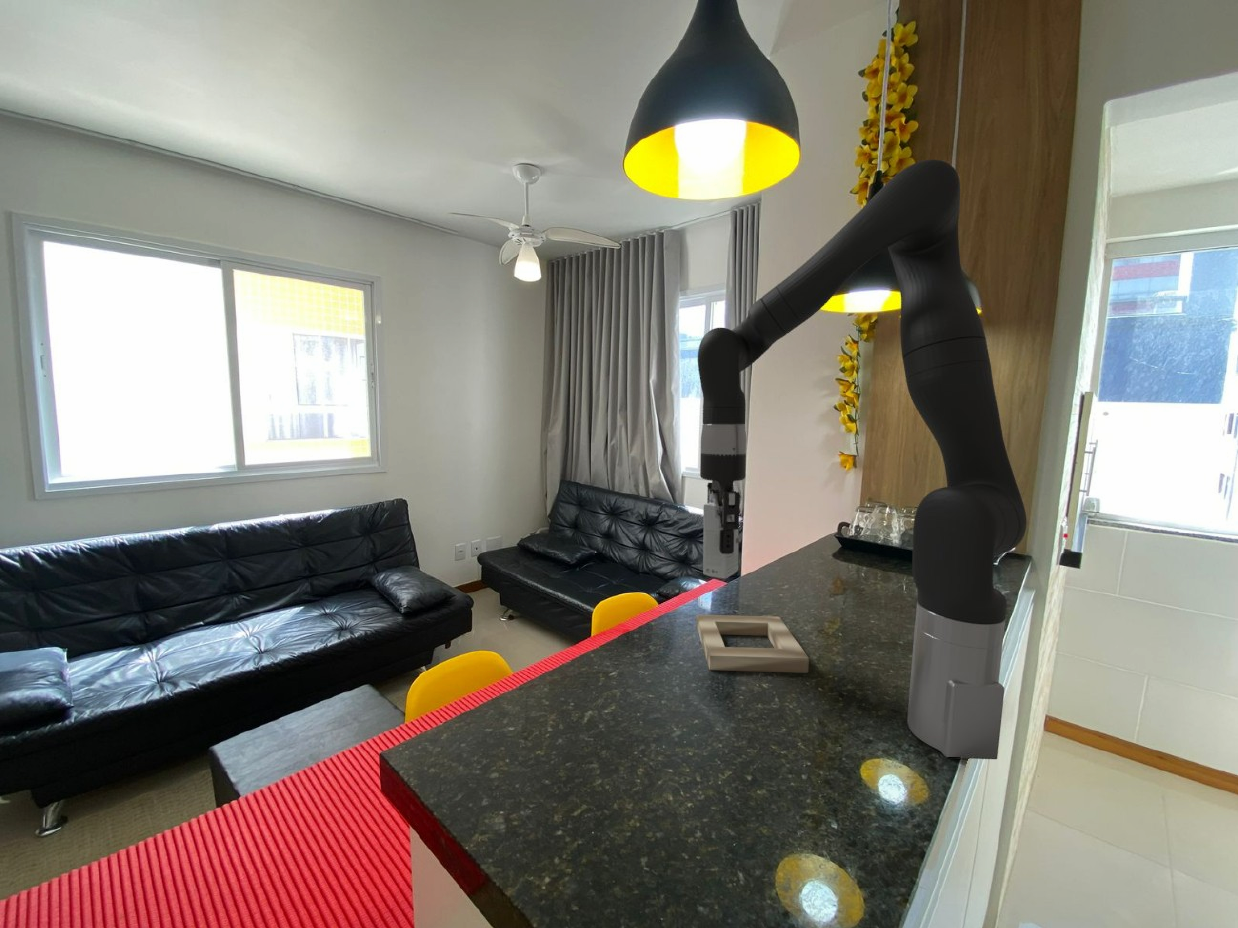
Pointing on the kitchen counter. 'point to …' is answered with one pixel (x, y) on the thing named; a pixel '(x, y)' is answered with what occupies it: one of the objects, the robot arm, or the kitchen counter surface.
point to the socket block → (750, 659)
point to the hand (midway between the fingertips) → (721, 546)
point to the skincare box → (717, 547)
